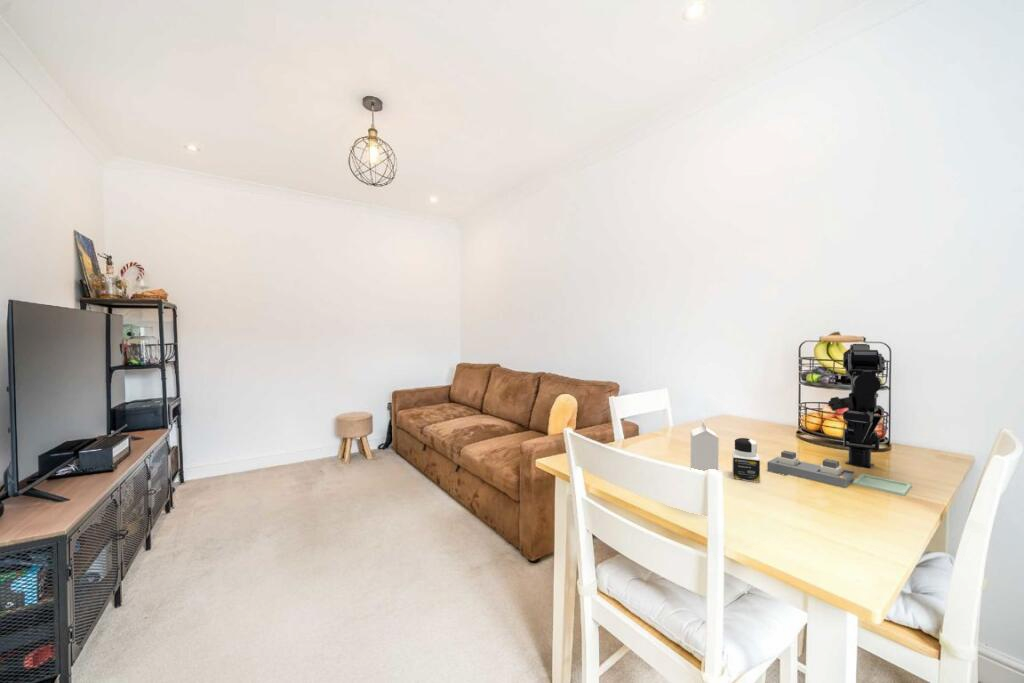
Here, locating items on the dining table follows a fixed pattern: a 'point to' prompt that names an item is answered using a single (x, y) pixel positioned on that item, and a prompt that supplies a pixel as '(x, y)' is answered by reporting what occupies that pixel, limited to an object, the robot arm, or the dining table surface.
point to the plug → (831, 467)
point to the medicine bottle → (746, 460)
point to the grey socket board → (811, 473)
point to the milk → (704, 448)
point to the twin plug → (788, 458)
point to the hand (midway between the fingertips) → (863, 440)
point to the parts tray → (882, 484)
